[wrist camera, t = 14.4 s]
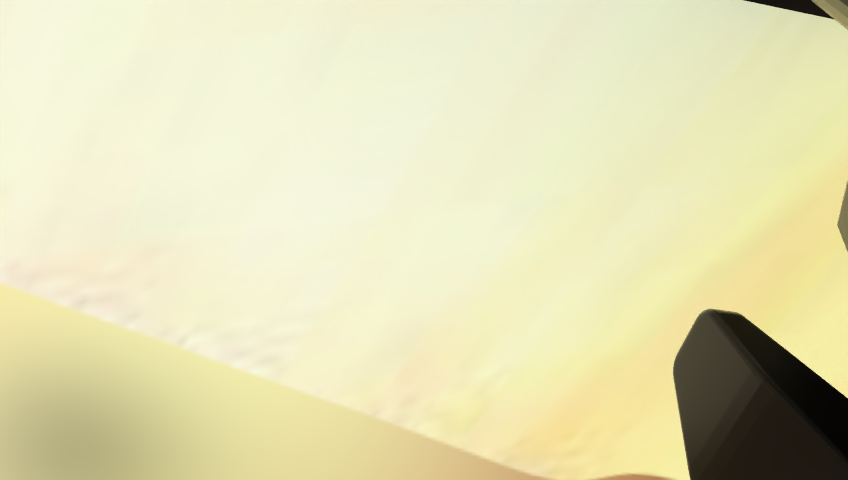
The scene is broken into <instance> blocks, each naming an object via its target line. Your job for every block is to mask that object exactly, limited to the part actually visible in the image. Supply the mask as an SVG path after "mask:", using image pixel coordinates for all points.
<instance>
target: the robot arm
mask: <svg viewBox="0 0 848 480" xmlns="http://www.w3.org/2000/svg"><path fill="white" fill-rule="evenodd" d="M745 1H750V2H755V3H759V4H764V5H769V6H774V7H778V8H783V9H788V10H793V11H798V12H802V13H807V14H812V15H817V16H821V17H826V18H831V19H835V20H836V21H838V22H839V23H840V24H841V25H843V26H844V27H845V28H846V29H848V0H745ZM838 228H839V230H840V233H841V235H842V238H843V241H844V243H845V246H846V248H847V251H848V181H847V185H846V189H845V193H844V197H843V202H842V206H841V211H840V215H839V220H838ZM673 376H674V383H675V389H676V396H677V402H678V408H679V414H680V420H681V426H682V433H683V439H684V445H685V451H686V457H687V463H688V470H689V475H690V480H848V398H846V397H845V396H844V395H843V394H841V393H840V392H839V391H838V390H836V389H835V388H834V387H833V386H831V385H830V384H829V383H827V382H826V381H825V380H824V379H822V378H821V377H820V376H819V375H817V374H816V373H815V372H814V371H812V370H811V369H810V368H808V367H807V366H806V365H805V364H803V363H802V362H801V361H800V360H798V359H797V358H796V357H795V356H793V355H792V354H791V353H789V352H788V351H787V350H786V349H784V348H783V347H782V346H781V345H779V344H778V343H777V342H776V341H774V340H773V339H772V338H770V337H769V336H768V335H767V334H765V333H764V332H763V331H762V330H760V329H759V328H758V327H757V326H755V325H754V324H753V323H751V322H750V321H749V320H748V319H746V318H745V317H744V316H742V315H741V314H739V313H736V312H731V311H724V310H716V309H707V310H704V311H703V312H702V313H700V314H699V316H698V317H697V319H696V321H695V323H694V324H693V326H692V328H691V330H690V332H689V333H688V335H687V337H686V339H685V341H684V343H683V344H682V346H681V348H680V350H679V352H678V353H677V356H676V358H675V362H674V367H673Z"/></svg>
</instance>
